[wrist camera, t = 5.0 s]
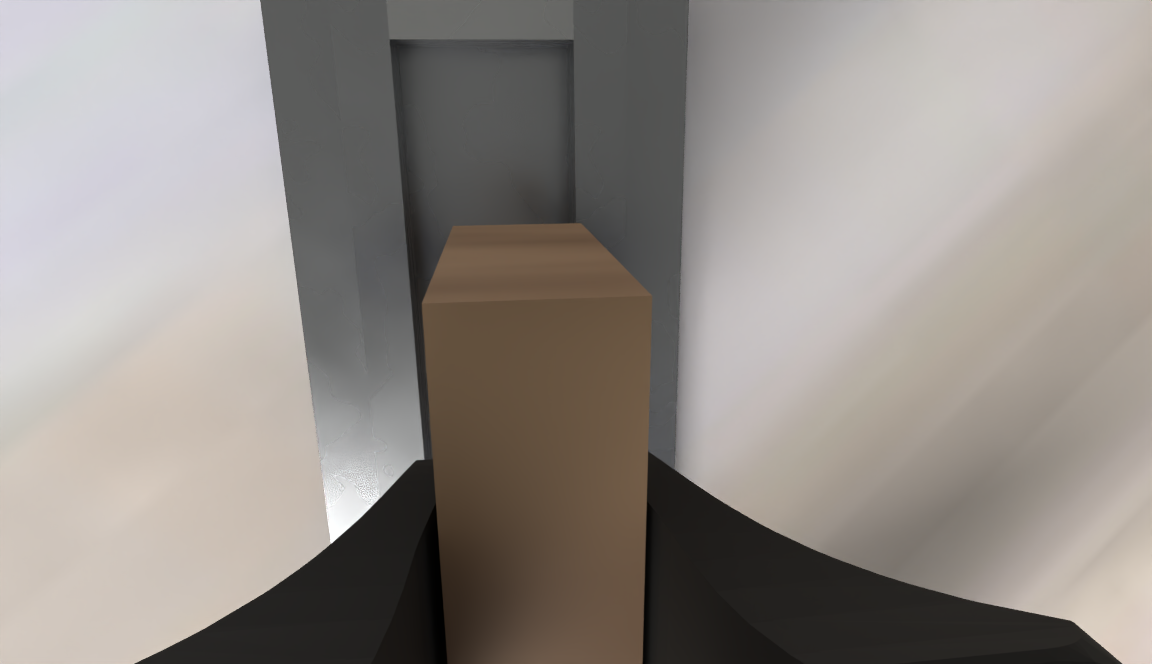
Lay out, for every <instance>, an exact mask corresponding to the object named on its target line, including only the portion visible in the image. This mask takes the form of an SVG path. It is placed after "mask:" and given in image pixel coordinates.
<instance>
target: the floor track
mask: <svg viewBox="0 0 1152 664" xmlns="http://www.w3.org/2000/svg"><path fill="white" fill-rule="evenodd" d="M260 2H261V10H262V17H263V25H264V33H265V40H266V48H267V56H268V63H269V71H270V79H271V86H272V94H273V102H274V110H275V117H276V125H277V133H278V140H279V148H280V156H281V163H282V171H283V179H284V186H285V194H286V202H287V210H288V217H289V225H290V233H291V240H292V248H293V256H294V263H295V271H296V279H297V286H298V294H299V302H300V310H301V317H302V325H303V333H304V340H305V348H306V356H307V363H308V371H309V379H310V387H311V394H312V402H313V410H314V417H315V425H316V433H317V440H318V448H319V456H320V463H321V471H322V479H323V487H324V494H325V502H326V510H327V517H328V525H329V533H330V540H331V543H333V542H334V541H335V540H336V539H337V538H338V537H339V536H341V535H342V534H343V533H344V532H345V531H346V530H347V529H348V528H350V527H351V526H352V525H353V524H354V523H355V522H356V521H357V520H359V519H360V518H361V517H362V516H363V515H364V514H365V513H366V512H367V511H368V510H369V509H370V508H371V507H372V506H373V505H374V504H375V503H376V502H377V501H378V500H379V499H380V498H381V497H382V495H383V494H384V493H385V492H386V491H387V490H388V489H389V488H390V487H391V486H392V485H393V484H394V483H395V482H396V481H397V479H398V478H399V477H400V476H401V475H402V474H403V473H404V472H405V471H406V470H407V469H408V468H409V467H410V466H411V465H412V464H413V463H414V462H415V461H416V460H428V459H433V454H432V440H431V426H430V412H429V398H428V384H427V370H426V356H425V343H424V329H423V315H422V302H423V299H424V297H425V294H426V292H427V289H428V287H429V284H430V282H431V279H432V277H433V274H434V272H435V269H436V267H437V264H438V262H439V259H440V257H441V254H442V252H443V249H444V247H445V244H446V242H447V240H448V237H449V235H450V232H451V230H452V227H453V226H473V225H520V224H567V223H581V224H582V225H583V226H584V227H585V228H586V229H587V230H588V231H589V232H590V233H591V234H592V235H593V236H594V237H595V238H596V239H597V240H598V241H599V242H600V243H601V244H602V245H603V246H604V247H605V248H606V249H607V250H608V251H609V252H610V253H611V254H612V255H613V256H614V257H615V258H616V259H617V260H618V261H619V262H620V263H621V264H622V265H623V266H624V268H625V269H626V270H627V271H628V272H629V273H630V274H631V275H632V276H633V277H634V278H635V279H636V280H637V281H638V282H639V283H640V284H641V285H642V286H643V287H644V288H645V289H646V290H647V291H648V292H649V293H650V294H651V295H652V322H651V360H650V397H649V435H648V452H650V453H651V454H653V455H654V456H656V457H657V458H659V459H660V460H661V461H663V462H664V463H666V464H667V465H668V466H670V467H671V468H673V469H674V464H675V431H676V398H677V365H678V332H679V299H680V266H681V233H682V200H683V167H684V134H685V101H686V68H687V35H688V2H689V0H260Z"/></svg>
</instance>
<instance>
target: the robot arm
mask: <svg viewBox="0 0 1152 664" xmlns="http://www.w3.org/2000/svg"><path fill="white" fill-rule="evenodd" d="M135 664H448V663H447V650H446V636H445V622H444V608H443V594H442V580H441V566H440V552H439V538H438V524H437V510H436V496H435V482H434V468H433V459H428V460H416V461H415V462H414V463H413V464H412V465H411V466H410V467H409V468H408V469H407V470H406V471H405V472H404V473H403V474H402V475H401V476H400V477H399V478H398V479H397V481H396V482H395V483H394V484H393V485H392V486H391V487H390V488H389V489H388V490H387V491H386V492H385V493H384V494H383V495H382V497H381V498H380V499H379V500H378V501H377V502H376V503H375V504H374V505H373V506H372V507H371V508H370V509H369V510H368V511H367V512H366V513H365V514H364V515H363V516H362V517H361V518H360V519H359V520H357V521H356V522H355V523H354V524H353V525H352V526H351V527H350V528H348V529H347V530H346V531H345V532H344V533H343V534H342V535H341V536H339V537H338V538H337V539H336V540H335V541H334V542H333V543H331V544H330V545H329V546H328V547H327V548H326V549H325V550H323V551H322V552H321V553H320V554H318V555H317V556H316V557H315V558H313V559H312V560H311V561H309V562H308V563H307V564H305V565H304V566H303V567H302V568H300V569H299V570H297V571H296V572H294V573H293V574H292V575H290V576H289V577H287V578H286V579H285V580H283V581H282V582H280V583H279V584H277V585H276V586H275V587H273V588H272V589H270V590H269V591H267V592H265V593H264V594H262V595H261V596H259V597H257V598H256V599H254V600H252V601H251V602H249V603H247V604H246V605H244V606H242V607H241V608H239V609H237V610H235V611H234V612H232V613H230V614H229V615H227V616H225V617H224V618H222V619H220V620H219V621H217V622H215V623H213V624H212V625H210V626H208V627H207V628H205V629H203V630H201V631H199V632H198V633H196V634H194V635H192V636H190V637H188V638H186V639H184V640H182V641H180V642H178V643H176V644H174V645H172V646H170V647H168V648H166V649H164V650H162V651H160V652H158V653H156V654H154V655H152V656H150V657H148V658H145V659H143V660H141V661H139V662H137V663H135ZM642 664H1122V663H1121V662H1120V661H1118V660H1117V659H1116V658H1115V657H1114V656H1113V655H1111V654H1110V653H1109V652H1108V651H1107V650H1105V649H1104V648H1103V647H1102V646H1101V645H1100V644H1098V643H1097V642H1096V641H1095V640H1094V639H1093V638H1091V637H1090V636H1089V635H1088V634H1087V633H1085V632H1084V631H1083V630H1082V629H1081V628H1080V627H1078V626H1077V625H1076V624H1075V623H1074V622H1072V621H1069V620H1064V619H1059V618H1054V617H1049V616H1044V615H1039V614H1034V613H1029V612H1024V611H1019V610H1014V609H1009V608H1004V607H999V606H994V605H989V604H984V603H979V602H975V601H970V600H966V599H962V598H958V597H955V596H951V595H947V594H944V593H940V592H936V591H933V590H929V589H925V588H921V587H918V586H914V585H911V584H908V583H904V582H901V581H898V580H895V579H891V578H888V577H885V576H882V575H879V574H876V573H873V572H871V571H868V570H865V569H862V568H859V567H857V566H854V565H851V564H848V563H846V562H843V561H840V560H837V559H835V558H832V557H830V556H827V555H825V554H823V553H820V552H818V551H815V550H813V549H811V548H809V547H806V546H804V545H802V544H800V543H798V542H796V541H794V540H791V539H789V538H787V537H785V536H783V535H781V534H779V533H776V532H774V531H772V530H771V529H769V528H767V527H765V526H763V525H761V524H759V523H757V522H755V521H754V520H752V519H750V518H749V517H747V516H745V515H743V514H742V513H740V512H738V511H736V510H735V509H733V508H731V507H730V506H728V505H726V504H725V503H723V502H722V501H720V500H718V499H717V498H715V497H714V496H712V495H710V494H709V493H707V492H706V491H704V490H703V489H701V488H700V487H698V486H697V485H696V484H694V483H693V482H691V481H690V480H688V479H687V478H685V477H684V476H683V475H681V474H680V473H678V472H677V471H675V470H674V469H673V468H671V467H670V466H668V465H667V464H666V463H664V462H663V461H661V460H660V459H659V458H657V457H656V456H654V455H653V454H651V453H650V452H648V473H647V510H646V548H645V586H644V623H643V661H642Z"/></svg>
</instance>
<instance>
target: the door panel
mask: <svg viewBox="0 0 1152 664" xmlns="http://www.w3.org/2000/svg"><path fill="white" fill-rule="evenodd" d="M422 315H423V329H424V343H425V356H426V370H427V384H428V398H429V412H430V426H431V440H432V454H433V468H434V482H435V496H436V510H437V524H438V538H439V552H440V566H441V580H442V594H443V608H444V622H445V636H446V650H447V663H448V664H642V661H643V623H644V586H645V548H646V510H647V473H648V435H649V397H650V360H651V322H652V295H651V294H650V293H649V292H648V291H647V290H646V289H645V288H644V287H643V286H642V285H641V284H640V283H639V282H638V281H637V280H636V279H635V278H634V277H633V276H632V275H631V274H630V273H629V272H628V271H627V270H626V269H625V268H624V266H623V265H622V264H621V263H620V262H619V261H618V260H617V259H616V258H615V257H614V256H613V255H612V254H611V253H610V252H609V251H608V250H607V249H606V248H605V247H604V246H603V245H602V244H601V243H600V242H599V241H598V240H597V239H596V238H595V237H594V236H593V235H592V234H591V233H590V232H589V231H588V230H587V229H586V228H585V227H584V226H583V225H582V224H581V223H567V224H520V225H473V226H453V227H452V230H451V232H450V235H449V237H448V240H447V242H446V244H445V247H444V249H443V252H442V254H441V257H440V259H439V262H438V264H437V267H436V269H435V272H434V274H433V277H432V279H431V282H430V284H429V287H428V289H427V292H426V294H425V297H424V299H423V302H422Z"/></svg>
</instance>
